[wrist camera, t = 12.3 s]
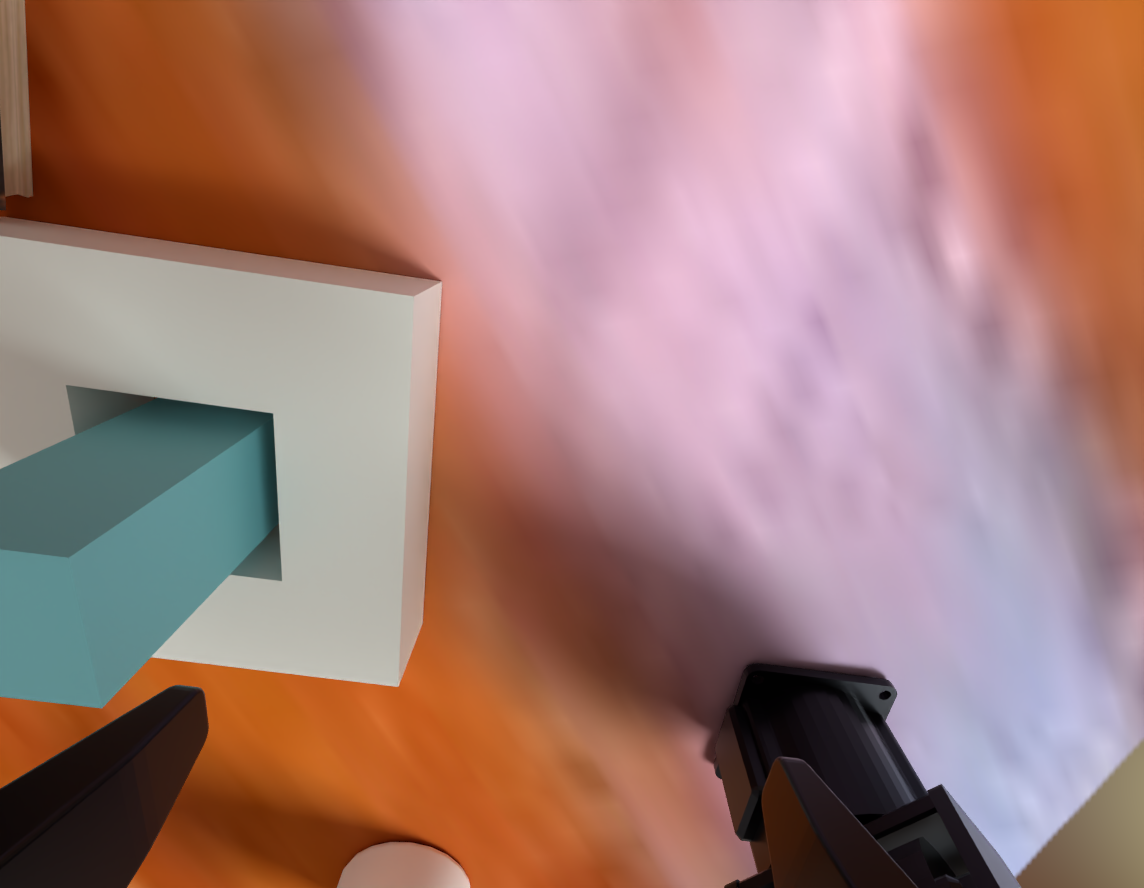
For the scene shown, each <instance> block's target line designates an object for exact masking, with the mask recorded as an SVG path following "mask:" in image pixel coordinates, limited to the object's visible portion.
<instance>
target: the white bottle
mask: <svg viewBox="0 0 1144 888" xmlns="http://www.w3.org/2000/svg"><path fill="white" fill-rule="evenodd" d="M337 888H470V883H469V878H468V877H467V875H466V873H465V872H464V870H463V868H462V867H461V865H459V864H458V863H457V862H456V861H455V860H453V859H452V858H451V857H450V856H449V855H447V854H445V853H443V852H441V851H439V850H437V849H434V848H432V847H430V846H425V845H421V844H416V843H412V842H388V843H383V844H378V845H374V846H371V847H369V848H367V849H365V850H363V851H361V852H359V853H357V854H356V855H355V857H354V858H353V859H352V860H351V861H350V862H349V863H348V864H347V866H346V867H345V868H344V869H343V872H342V875H341V877H340V880H339V883H338V886H337Z"/></svg>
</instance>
